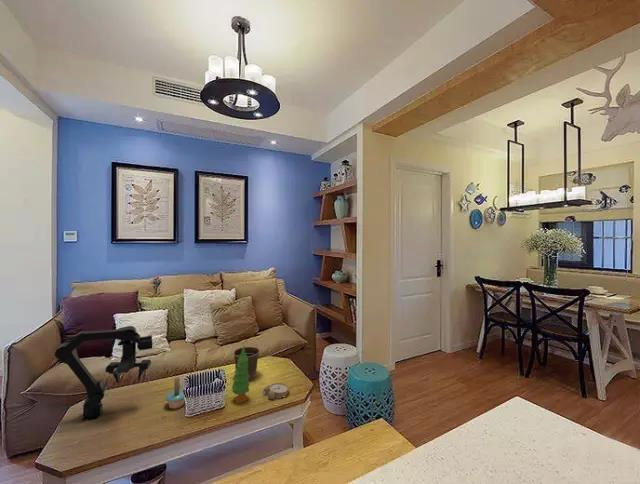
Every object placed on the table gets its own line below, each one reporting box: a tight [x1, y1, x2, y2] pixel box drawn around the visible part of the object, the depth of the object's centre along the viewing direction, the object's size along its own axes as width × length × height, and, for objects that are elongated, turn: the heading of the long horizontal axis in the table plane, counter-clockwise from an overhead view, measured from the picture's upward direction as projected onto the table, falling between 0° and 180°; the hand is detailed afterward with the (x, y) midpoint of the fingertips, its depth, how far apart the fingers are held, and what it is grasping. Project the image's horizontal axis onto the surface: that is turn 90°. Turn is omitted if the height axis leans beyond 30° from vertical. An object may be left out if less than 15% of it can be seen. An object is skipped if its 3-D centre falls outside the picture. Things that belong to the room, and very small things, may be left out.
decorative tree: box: [231, 346, 250, 404], centre depth 155 cm, size 10×9×30 cm
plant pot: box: [232, 346, 261, 381], centre depth 180 cm, size 16×16×16 cm
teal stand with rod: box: [165, 376, 184, 402], centre depth 149 cm, size 10×10×10 cm
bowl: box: [168, 399, 185, 410], centre depth 149 cm, size 7×7×4 cm
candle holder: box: [262, 382, 291, 400], centre depth 161 cm, size 11×5×15 cm
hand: (128, 382), depth 145 cm, fingers open, 9 cm apart
